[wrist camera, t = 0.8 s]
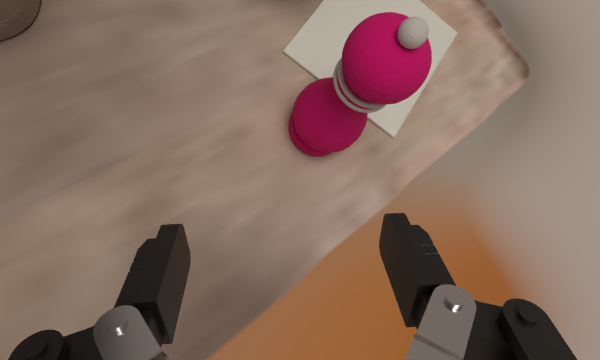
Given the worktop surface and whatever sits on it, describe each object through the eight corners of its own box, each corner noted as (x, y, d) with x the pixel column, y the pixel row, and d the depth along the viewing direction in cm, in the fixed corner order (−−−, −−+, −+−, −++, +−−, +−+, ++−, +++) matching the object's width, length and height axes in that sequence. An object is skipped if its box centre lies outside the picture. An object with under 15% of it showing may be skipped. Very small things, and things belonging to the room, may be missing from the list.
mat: (392, 138, 41) (394, 137, 41) (282, 52, 39) (283, 50, 39) (455, 34, 46) (457, 32, 46) (360, -46, 45) (362, -49, 44)
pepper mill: (335, 93, 40) (452, -37, 21) (353, 153, 40) (491, 73, 21) (275, 104, 38) (347, -29, 19) (294, 168, 38) (386, 94, 19)
